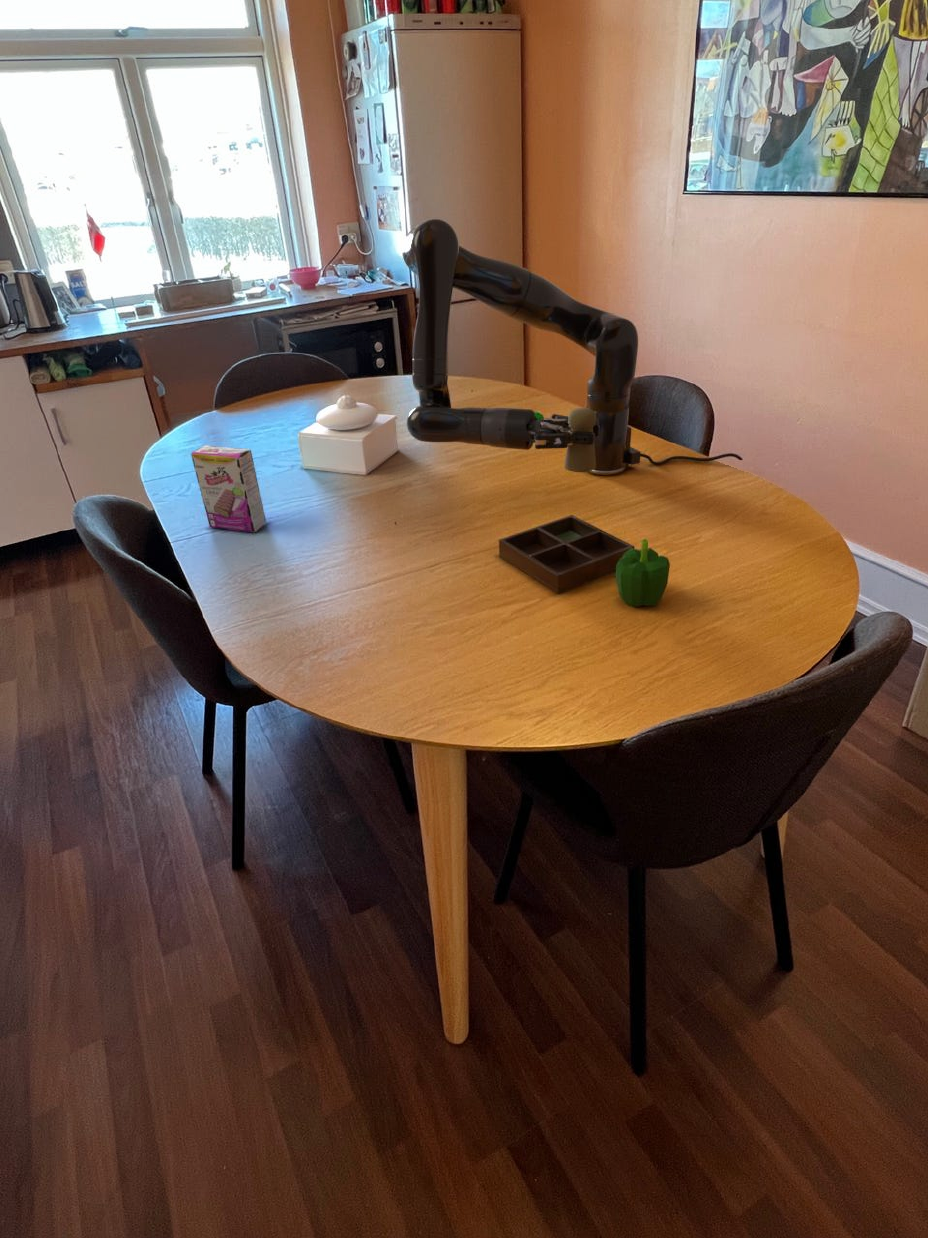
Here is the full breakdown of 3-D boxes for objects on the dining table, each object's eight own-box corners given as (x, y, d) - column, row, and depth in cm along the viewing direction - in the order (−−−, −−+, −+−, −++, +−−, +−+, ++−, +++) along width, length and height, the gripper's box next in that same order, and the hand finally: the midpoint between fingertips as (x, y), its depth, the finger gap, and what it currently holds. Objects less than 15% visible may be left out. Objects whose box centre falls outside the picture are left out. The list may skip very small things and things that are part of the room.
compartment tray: (571, 531, 144) (571, 514, 142) (633, 563, 132) (634, 546, 130) (499, 556, 137) (498, 539, 135) (557, 593, 125) (558, 575, 123)
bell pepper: (656, 618, 117) (661, 562, 111) (607, 606, 120) (610, 551, 115) (673, 594, 122) (680, 539, 117) (626, 583, 126) (630, 529, 121)
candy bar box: (208, 529, 154) (188, 452, 145) (222, 519, 158) (204, 444, 149) (254, 534, 151) (237, 456, 142) (268, 524, 155) (251, 447, 146)
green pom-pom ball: (547, 428, 197) (547, 410, 195) (538, 433, 194) (538, 415, 191) (530, 425, 200) (530, 408, 197) (522, 431, 196) (521, 413, 194)
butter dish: (302, 468, 181) (291, 403, 173) (340, 444, 195) (331, 382, 187) (366, 475, 175) (357, 408, 167) (399, 449, 189) (393, 386, 181)
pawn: (595, 472, 140) (598, 414, 134) (562, 471, 141) (564, 414, 135) (596, 461, 145) (600, 404, 139) (565, 460, 146) (567, 404, 140)
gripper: (497, 420, 136) (590, 426, 131) (518, 398, 147) (604, 403, 142) (497, 459, 140) (588, 467, 135) (518, 435, 151) (602, 441, 146)
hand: (596, 434), depth 138 cm, fingers closed on pawn, 4 cm apart
